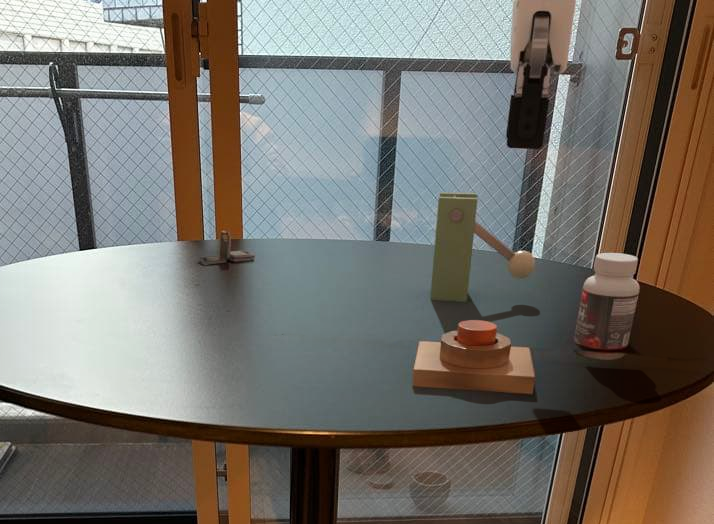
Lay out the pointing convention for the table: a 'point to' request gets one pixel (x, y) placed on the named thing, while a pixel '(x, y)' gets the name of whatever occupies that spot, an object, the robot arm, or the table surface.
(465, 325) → the button
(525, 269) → the lever
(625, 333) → the pill bottle
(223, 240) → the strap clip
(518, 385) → the button block
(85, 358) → the table surface
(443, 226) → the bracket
